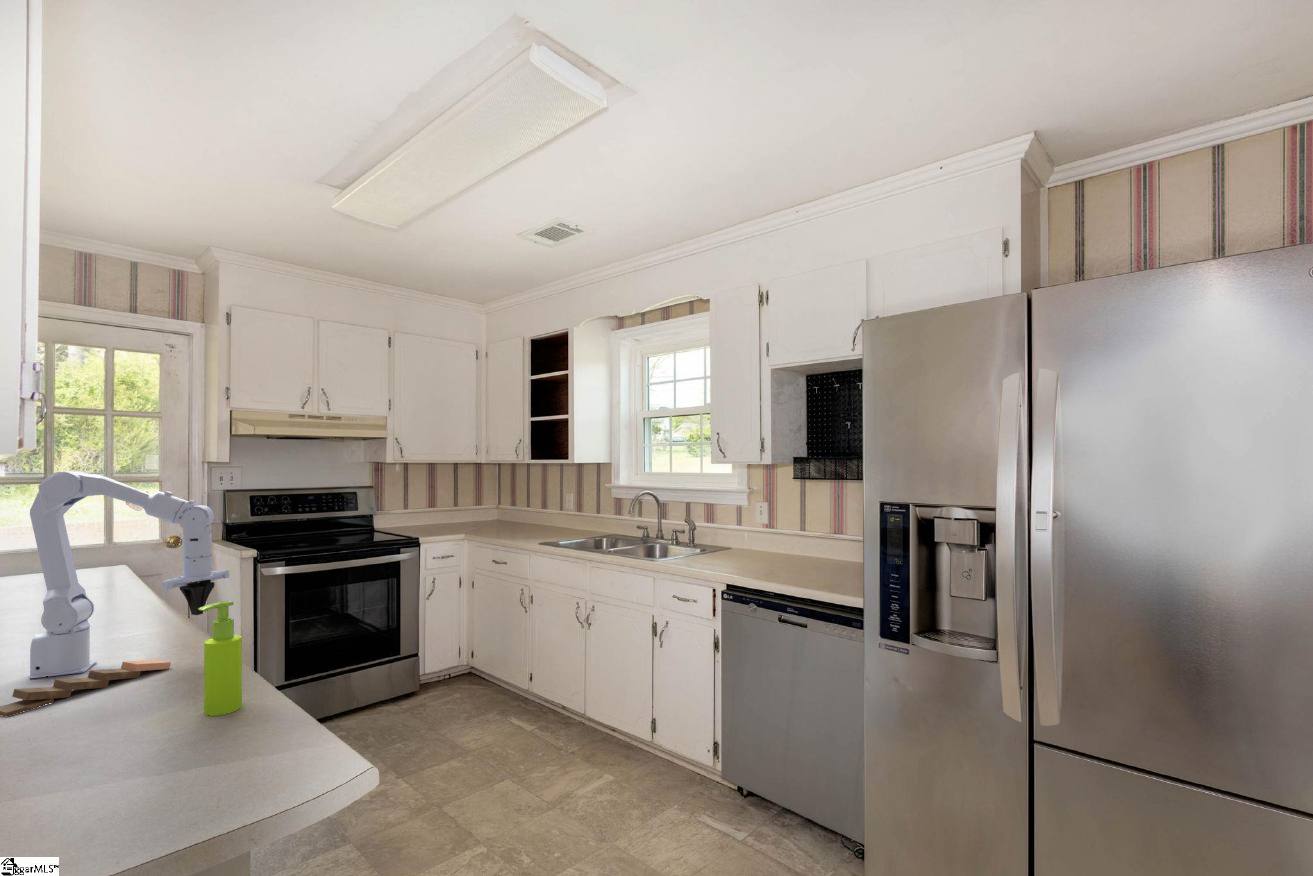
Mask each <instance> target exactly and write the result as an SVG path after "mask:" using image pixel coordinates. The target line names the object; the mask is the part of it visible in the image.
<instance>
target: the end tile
mask: <svg viewBox="0 0 1313 876" xmlns="http://www.w3.org/2000/svg"><path fill="white" fill-rule="evenodd" d="M49 703H53V704H54V698H52V699H38V700H23V699H20V700H18V701H15V702H11V703H7V704H5V705H4V704H3V705H1V706H0V715H3V716H2V717H4V716H9V715H12V716H14V715H13V714H16V713H19V714H21V713H20V712H22V713H24V712H23V711H26V712H28V711H27V710H29V711H32V710H31V709H33V708H36V709H38V708H37V707H39V706H43V705H45V704H49ZM43 707H44V706H43ZM39 708H40V707H39ZM33 710H34V709H33ZM16 715H17V714H16ZM9 717H10V716H9Z"/></svg>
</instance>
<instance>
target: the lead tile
mask: <svg viewBox="0 0 1313 876" xmlns="http://www.w3.org/2000/svg"><path fill="white" fill-rule="evenodd" d="M171 663H172V662H171V661H166V660H160V659H149V660H148V659H147V660H128V661H122V664H121V667H120V668H121V669H127V670H132V671H141V672H143V671H156V670H157V671H159V670H170V669H171V665H172V664H171ZM169 668H170V669H169Z"/></svg>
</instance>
